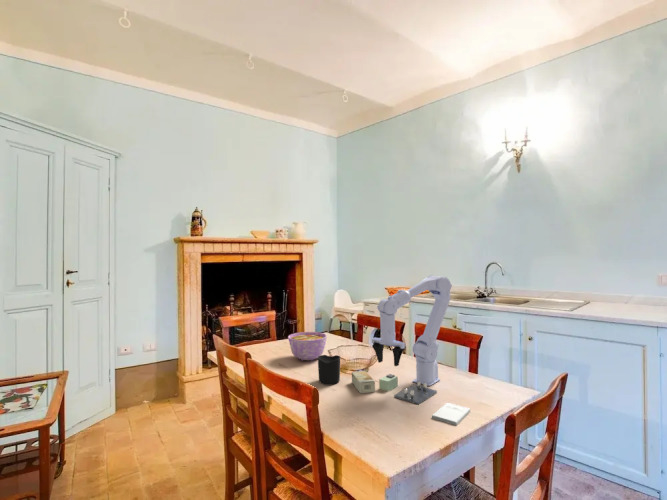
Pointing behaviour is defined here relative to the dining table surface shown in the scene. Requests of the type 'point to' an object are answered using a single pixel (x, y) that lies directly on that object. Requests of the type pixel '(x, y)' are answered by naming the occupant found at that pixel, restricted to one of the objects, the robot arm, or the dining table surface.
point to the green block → (388, 382)
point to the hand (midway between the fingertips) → (388, 363)
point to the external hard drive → (451, 413)
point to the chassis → (416, 393)
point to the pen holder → (329, 369)
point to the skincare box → (363, 382)
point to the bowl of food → (307, 344)
